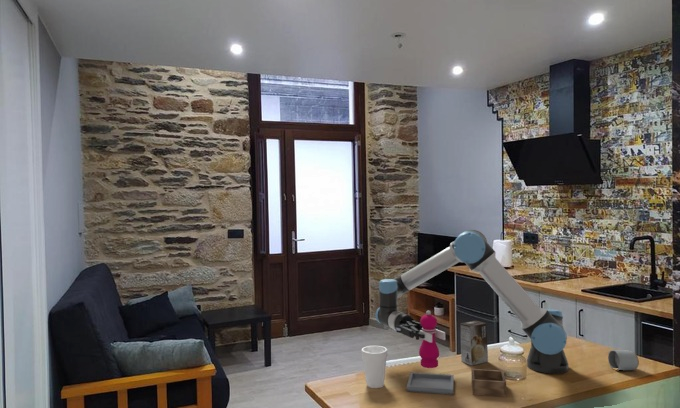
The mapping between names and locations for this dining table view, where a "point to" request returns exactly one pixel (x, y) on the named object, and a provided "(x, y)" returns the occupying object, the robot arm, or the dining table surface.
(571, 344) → the dining table surface
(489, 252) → the robot arm
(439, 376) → the slate tray
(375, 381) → the foam cup
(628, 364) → the grey slotted cylinder
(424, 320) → the pepper mill
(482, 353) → the coffee box
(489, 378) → the wooden box
